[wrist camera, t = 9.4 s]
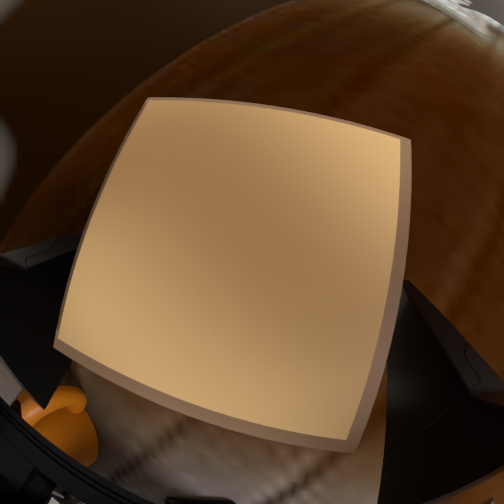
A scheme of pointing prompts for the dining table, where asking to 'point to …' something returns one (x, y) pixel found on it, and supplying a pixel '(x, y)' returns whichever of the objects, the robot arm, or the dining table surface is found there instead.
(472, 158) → the dining table surface
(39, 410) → the mug
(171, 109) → the tan wooden block
